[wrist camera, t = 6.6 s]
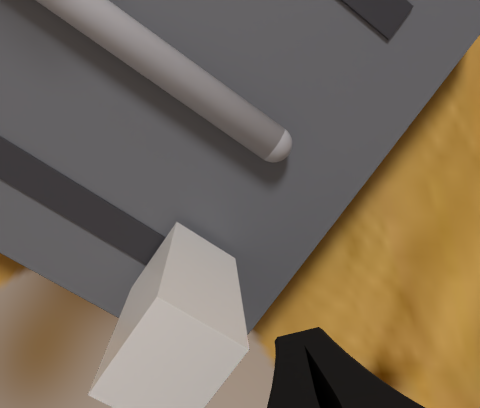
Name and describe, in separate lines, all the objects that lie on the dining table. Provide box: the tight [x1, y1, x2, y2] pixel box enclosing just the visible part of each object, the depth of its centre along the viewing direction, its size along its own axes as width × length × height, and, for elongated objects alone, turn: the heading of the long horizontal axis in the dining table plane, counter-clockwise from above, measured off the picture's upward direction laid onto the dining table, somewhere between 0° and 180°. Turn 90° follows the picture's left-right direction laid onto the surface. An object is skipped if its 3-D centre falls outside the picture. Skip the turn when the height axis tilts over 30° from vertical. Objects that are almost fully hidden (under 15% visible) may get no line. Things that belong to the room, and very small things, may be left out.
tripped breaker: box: [88, 222, 250, 408], centre depth 10 cm, size 2×2×4 cm
